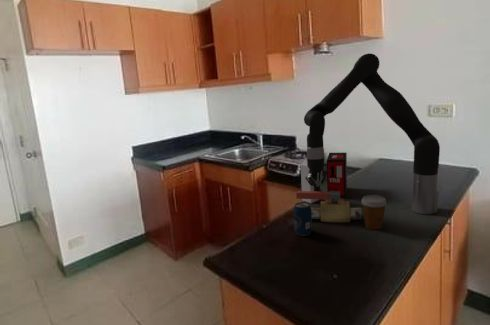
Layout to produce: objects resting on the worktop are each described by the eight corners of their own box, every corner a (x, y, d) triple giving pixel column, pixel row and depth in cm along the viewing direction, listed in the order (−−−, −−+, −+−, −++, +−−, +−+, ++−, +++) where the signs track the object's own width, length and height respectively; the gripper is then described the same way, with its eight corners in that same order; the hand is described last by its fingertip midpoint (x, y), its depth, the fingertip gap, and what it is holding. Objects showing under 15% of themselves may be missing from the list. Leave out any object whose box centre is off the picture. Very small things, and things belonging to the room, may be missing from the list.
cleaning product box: (330, 187, 187) (329, 152, 182) (346, 188, 184) (346, 152, 179) (327, 197, 172) (326, 159, 167) (345, 198, 169) (345, 159, 164)
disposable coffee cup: (385, 222, 139) (386, 194, 136) (386, 232, 130) (387, 203, 127) (361, 220, 142) (361, 194, 139) (361, 230, 133) (361, 202, 130)
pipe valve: (360, 215, 147) (360, 195, 144) (362, 222, 140) (362, 201, 138) (302, 215, 152) (301, 195, 150) (302, 221, 145) (301, 201, 143)
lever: (340, 197, 145) (340, 191, 144) (339, 200, 141) (339, 194, 140) (297, 196, 151) (297, 190, 150) (296, 199, 147) (295, 193, 146)
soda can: (291, 231, 137) (290, 203, 134) (305, 227, 140) (304, 200, 137) (300, 238, 131) (299, 209, 128) (315, 233, 134) (314, 205, 131)
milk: (310, 203, 166) (309, 160, 161) (301, 200, 171) (300, 158, 165) (319, 200, 169) (317, 157, 164) (310, 197, 174) (308, 156, 169)
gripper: (318, 152, 155) (319, 188, 159) (299, 158, 146) (301, 196, 150) (331, 154, 149) (332, 191, 153) (313, 160, 141) (314, 199, 145)
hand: (317, 193), depth 152 cm, fingers closed
